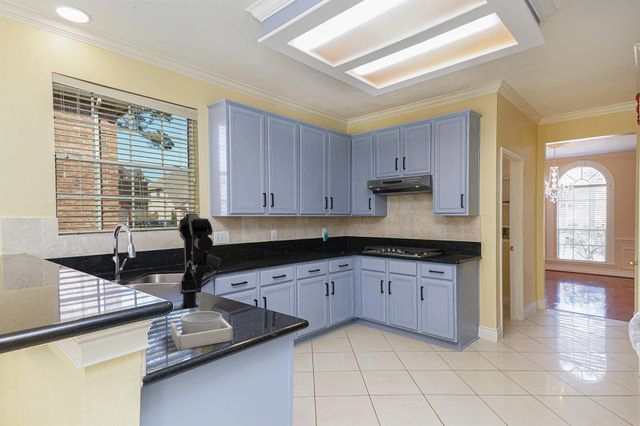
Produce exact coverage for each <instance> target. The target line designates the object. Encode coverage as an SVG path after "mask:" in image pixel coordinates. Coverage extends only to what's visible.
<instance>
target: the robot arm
mask: <svg viewBox="0 0 640 426" xmlns="http://www.w3.org/2000/svg"><path fill="white" fill-rule="evenodd" d="M177 230H178V232H179V236H180V237H181V239H182V241H183V245H184V247H183V249H184V250H183V251H184V270H185V271H184V273H183V275H182V277H181V280H180V283H179V286H178V287H179V288H178V292H179V294H180V295H182V303H181V304H180V306H181V308H182V309H189V308H190V309H191V308H197V307H199V305H198V304H197V293H201V292H202V285H203V278H204V275H205V274H206V273H212V272H213V266H212V265H215V266H216V267H219V266H220V264H221V260H222V259H221V258H219V257H217V255H216V254H214V253H211V254H209V251H210V250H211V249H212V247H213V246H214V241H213V239H212V238H211V237H209V236H212V235H213V232H214V230H213V226H212V224H211V221H209V219H208V218H204V217H203V218H201V217H200V216H198V214H197V213H189V212H188V213H185V215H184V217H182V218H181V219H180V220H179V223H178V229H177ZM211 264H212V265H211Z"/></svg>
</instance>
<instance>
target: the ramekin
mask: <svg viewBox="0 0 640 426" xmlns="http://www.w3.org/2000/svg"><path fill="white" fill-rule="evenodd" d="M222 318H223V315H222V313H220V312H217V311H210V310H202V311H192V312H189V313H186V314H184V315H181V317H180V323H181V332H182V333H181V335H187V334H193V333H199V332H205V331H212V330H218V329H220V323H221V319H222Z"/></svg>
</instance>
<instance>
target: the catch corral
mask: <svg viewBox="0 0 640 426" xmlns="http://www.w3.org/2000/svg"><path fill="white" fill-rule="evenodd" d="M170 337H171V339H172V341H173V343H174V345H175V347H176V349H177V351H182V350H187V349H191V348H198V347H203V346H208V345H215V344H218V343H219V344H221V343H225V342H230V341H233V340H234V328H233V326H231V324H229V322H228V321H227V320H225V319H224V317H222V319H221V323H220V329H218V330H212V331H205V332H199V333H193V334H187V335H183V334H181V333H180V331H179V329H178V328H177V326H176V324H175V322H170Z"/></svg>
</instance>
